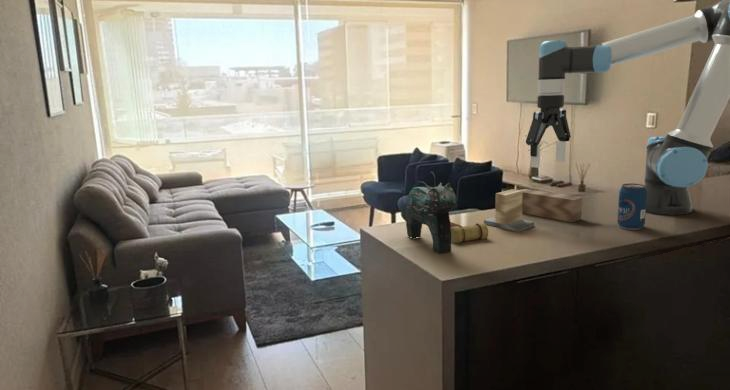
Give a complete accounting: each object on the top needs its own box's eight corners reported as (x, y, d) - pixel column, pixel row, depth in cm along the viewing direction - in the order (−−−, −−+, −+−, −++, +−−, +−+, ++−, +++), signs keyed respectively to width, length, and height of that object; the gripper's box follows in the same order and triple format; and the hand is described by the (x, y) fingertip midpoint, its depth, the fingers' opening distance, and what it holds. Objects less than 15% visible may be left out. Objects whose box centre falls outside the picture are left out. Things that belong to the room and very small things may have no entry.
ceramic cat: (458, 253, 128) (458, 175, 124) (436, 257, 126) (435, 177, 122) (419, 233, 146) (418, 165, 142) (399, 237, 144) (397, 167, 140)
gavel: (422, 216, 154) (452, 212, 157) (423, 230, 155) (452, 227, 158) (455, 228, 135) (488, 224, 138) (456, 245, 135) (489, 240, 138)
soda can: (611, 226, 145) (614, 185, 143) (627, 222, 149) (630, 182, 146) (634, 231, 139) (637, 188, 137) (650, 227, 143) (653, 185, 140)
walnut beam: (581, 219, 154) (582, 197, 153) (572, 223, 151) (573, 200, 150) (524, 209, 170) (524, 188, 168) (515, 212, 166) (515, 191, 165)
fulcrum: (534, 226, 149) (535, 192, 147) (517, 231, 144) (518, 197, 142) (500, 218, 158) (500, 187, 156) (483, 223, 153) (483, 191, 151)
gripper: (562, 92, 163) (559, 158, 167) (514, 96, 148) (512, 168, 152) (584, 92, 157) (580, 160, 161) (537, 96, 142) (534, 170, 147)
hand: (547, 164), depth 157 cm, fingers open, 13 cm apart
